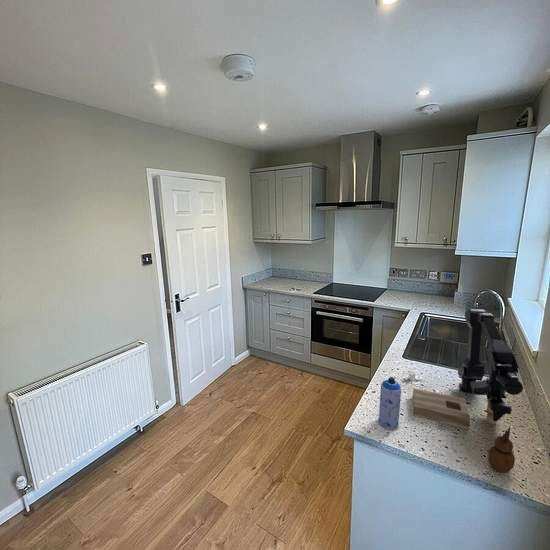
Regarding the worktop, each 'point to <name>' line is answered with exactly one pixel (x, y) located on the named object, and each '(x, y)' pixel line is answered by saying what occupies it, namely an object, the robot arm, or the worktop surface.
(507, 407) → the robot arm
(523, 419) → the worktop surface
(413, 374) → the teacup and saucer
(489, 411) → the oak peg
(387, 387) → the aerosol can
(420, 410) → the walnut socket block
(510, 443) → the brown bottle gourd
